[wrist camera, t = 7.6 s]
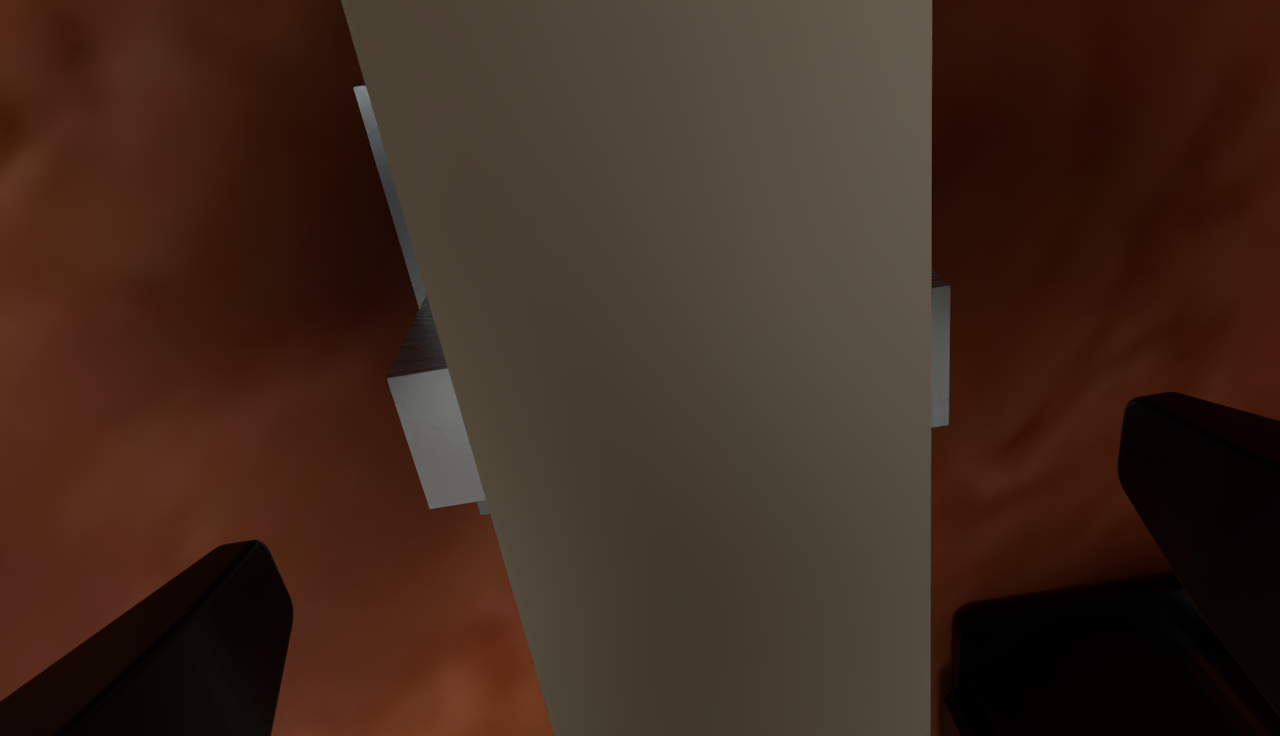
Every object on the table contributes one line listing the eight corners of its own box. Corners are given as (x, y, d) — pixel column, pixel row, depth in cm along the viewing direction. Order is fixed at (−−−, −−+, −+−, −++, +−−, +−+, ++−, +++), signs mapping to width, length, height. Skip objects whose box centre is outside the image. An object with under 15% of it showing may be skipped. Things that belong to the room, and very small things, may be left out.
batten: (704, -603, 7) (936, -1722, 2) (826, 831, 15) (929, 1215, 10) (358, -538, 7) (-97, -1500, 2) (668, 855, 15) (703, 1247, 10)
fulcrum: (853, -9, 14) (1000, 14, 9) (869, 410, 17) (979, 591, 12) (376, 74, 14) (260, 142, 9) (489, 471, 18) (450, 675, 13)
